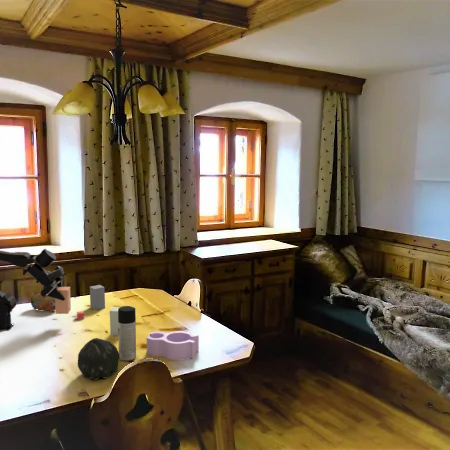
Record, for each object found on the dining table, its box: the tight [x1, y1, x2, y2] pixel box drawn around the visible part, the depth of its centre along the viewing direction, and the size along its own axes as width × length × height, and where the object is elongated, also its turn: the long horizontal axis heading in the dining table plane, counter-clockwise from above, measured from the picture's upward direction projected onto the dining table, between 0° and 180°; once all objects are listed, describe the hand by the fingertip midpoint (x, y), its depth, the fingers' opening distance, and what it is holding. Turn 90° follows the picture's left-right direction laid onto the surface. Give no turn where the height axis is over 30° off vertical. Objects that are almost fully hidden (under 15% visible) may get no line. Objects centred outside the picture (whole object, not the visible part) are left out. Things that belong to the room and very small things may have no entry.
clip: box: [146, 330, 200, 361], centre depth 186 cm, size 20×12×7 cm, turn 80°
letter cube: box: [76, 310, 85, 320], centre depth 225 cm, size 3×3×3 cm
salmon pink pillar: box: [54, 286, 72, 315], centre depth 213 cm, size 6×6×11 cm
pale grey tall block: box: [109, 306, 121, 336], centre depth 206 cm, size 6×6×11 cm
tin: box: [30, 293, 55, 313], centre depth 235 cm, size 15×3×8 cm, turn 73°
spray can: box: [117, 305, 137, 362], centre depth 181 cm, size 7×7×20 cm
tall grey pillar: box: [89, 284, 106, 311], centre depth 240 cm, size 6×6×11 cm
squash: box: [77, 337, 120, 381], centre depth 167 cm, size 14×15×15 cm
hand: (65, 297), depth 213 cm, fingers closed on salmon pink pillar, 5 cm apart
